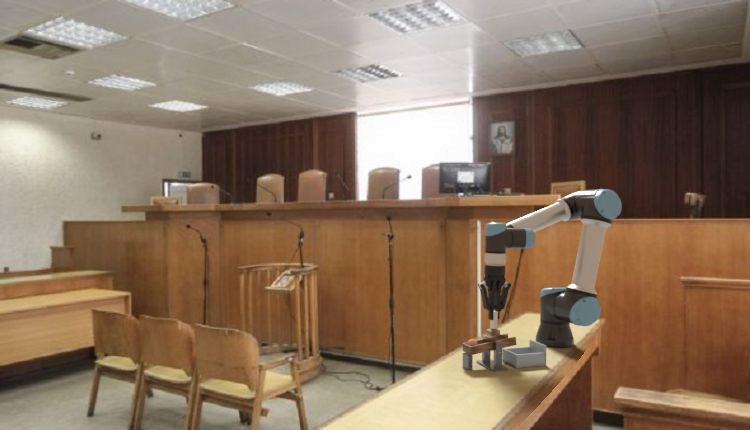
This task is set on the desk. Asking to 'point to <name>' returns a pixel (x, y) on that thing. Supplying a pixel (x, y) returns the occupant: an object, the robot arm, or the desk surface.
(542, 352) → the bin
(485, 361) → the fulcrum
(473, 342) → the ball
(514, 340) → the lever
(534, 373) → the desk surface
